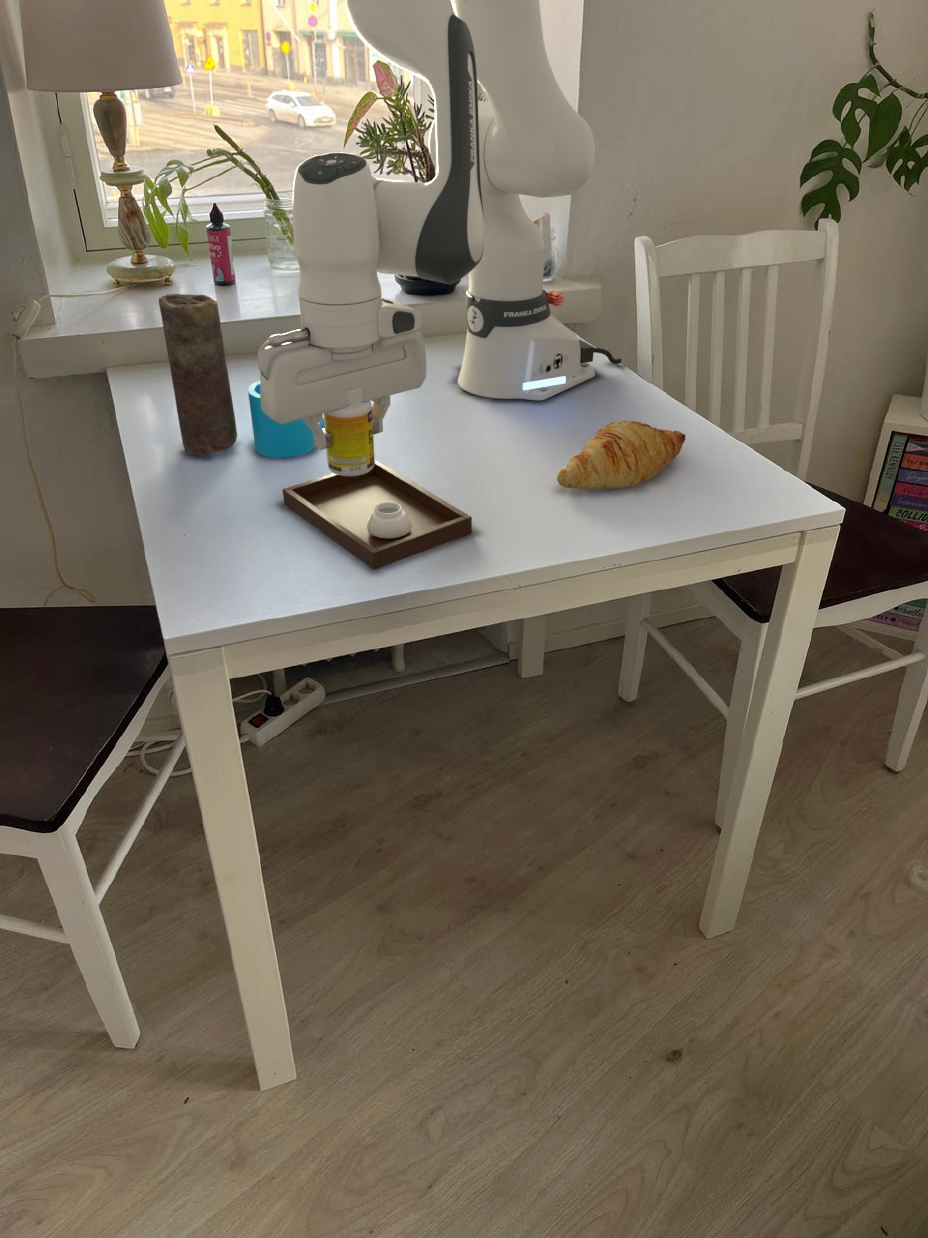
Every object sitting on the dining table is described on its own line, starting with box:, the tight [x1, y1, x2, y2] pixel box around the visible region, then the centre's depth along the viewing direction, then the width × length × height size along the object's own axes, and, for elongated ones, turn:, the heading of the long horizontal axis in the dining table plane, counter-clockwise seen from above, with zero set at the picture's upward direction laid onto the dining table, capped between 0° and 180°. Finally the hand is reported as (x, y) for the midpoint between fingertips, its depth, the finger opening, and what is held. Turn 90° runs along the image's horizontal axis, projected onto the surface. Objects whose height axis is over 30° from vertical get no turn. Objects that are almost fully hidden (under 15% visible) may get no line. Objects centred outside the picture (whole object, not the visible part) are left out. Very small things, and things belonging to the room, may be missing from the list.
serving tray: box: [281, 459, 473, 571], centre depth 114 cm, size 14×20×2 cm
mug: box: [247, 380, 325, 459], centre depth 130 cm, size 12×8×8 cm
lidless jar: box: [367, 502, 412, 539], centre depth 110 cm, size 5×3×5 cm
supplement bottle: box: [322, 388, 375, 476], centre depth 112 cm, size 6×6×10 cm
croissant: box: [556, 420, 686, 490], centre depth 123 cm, size 21×10×8 cm, turn 126°
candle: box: [158, 293, 238, 457], centre depth 126 cm, size 8×7×20 cm
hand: (349, 439), depth 112 cm, fingers closed on supplement bottle, 5 cm apart
